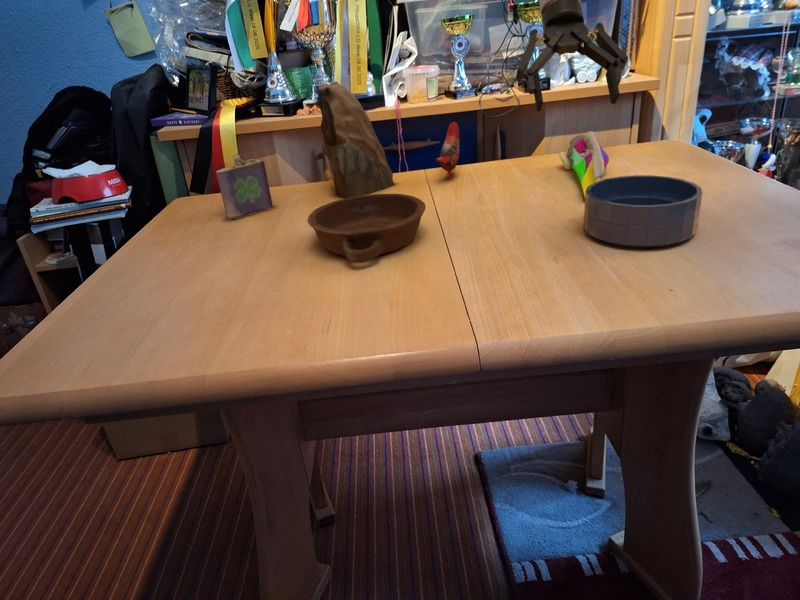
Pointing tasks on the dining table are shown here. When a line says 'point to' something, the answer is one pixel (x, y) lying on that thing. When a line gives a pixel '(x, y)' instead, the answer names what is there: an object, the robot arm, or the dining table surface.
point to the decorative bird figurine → (450, 149)
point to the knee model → (586, 159)
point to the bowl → (642, 210)
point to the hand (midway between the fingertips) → (577, 103)
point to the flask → (244, 188)
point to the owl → (351, 144)
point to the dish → (367, 224)
